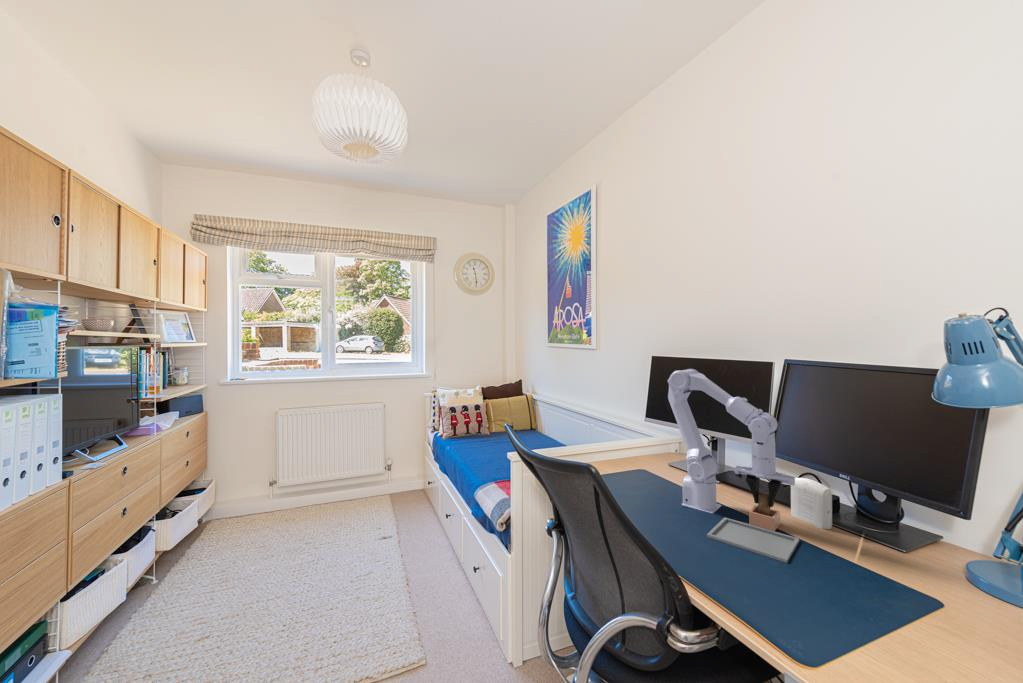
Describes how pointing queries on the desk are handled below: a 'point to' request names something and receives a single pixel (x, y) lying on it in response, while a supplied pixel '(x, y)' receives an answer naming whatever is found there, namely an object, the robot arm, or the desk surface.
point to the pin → (763, 504)
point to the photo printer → (811, 503)
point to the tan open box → (764, 519)
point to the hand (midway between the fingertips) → (764, 504)
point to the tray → (754, 539)
